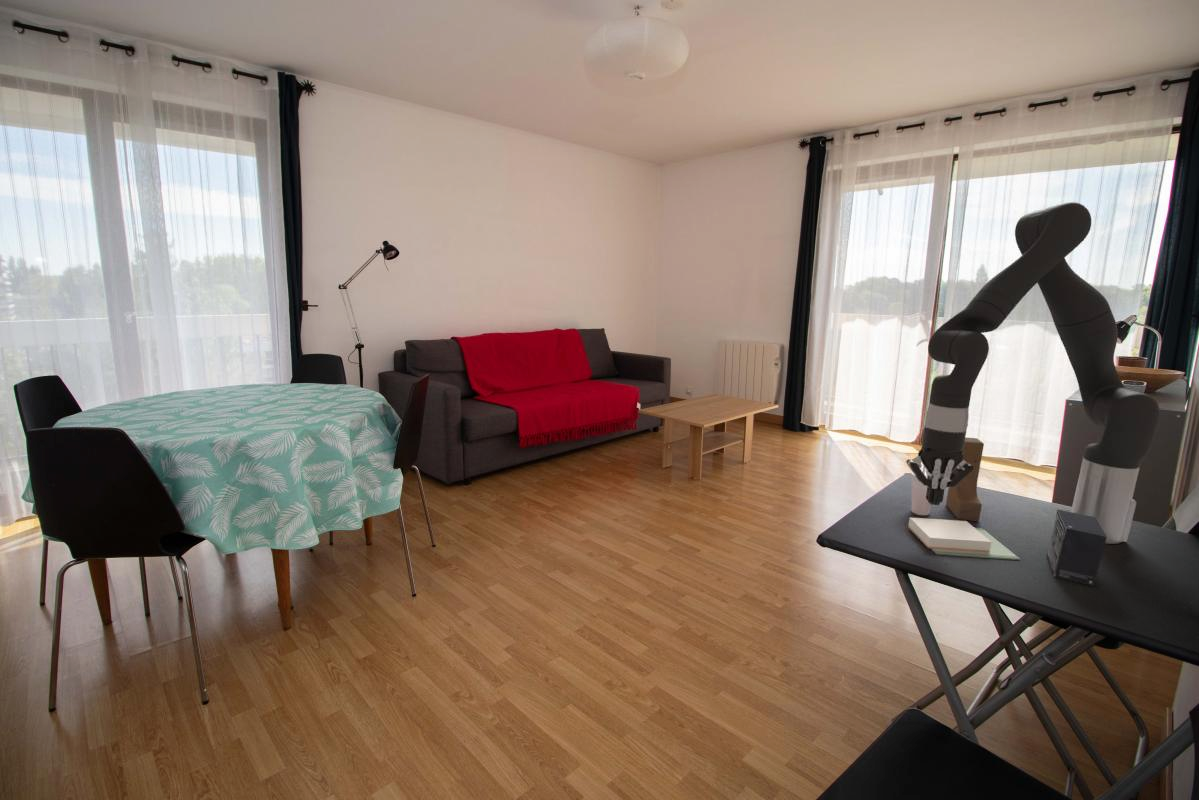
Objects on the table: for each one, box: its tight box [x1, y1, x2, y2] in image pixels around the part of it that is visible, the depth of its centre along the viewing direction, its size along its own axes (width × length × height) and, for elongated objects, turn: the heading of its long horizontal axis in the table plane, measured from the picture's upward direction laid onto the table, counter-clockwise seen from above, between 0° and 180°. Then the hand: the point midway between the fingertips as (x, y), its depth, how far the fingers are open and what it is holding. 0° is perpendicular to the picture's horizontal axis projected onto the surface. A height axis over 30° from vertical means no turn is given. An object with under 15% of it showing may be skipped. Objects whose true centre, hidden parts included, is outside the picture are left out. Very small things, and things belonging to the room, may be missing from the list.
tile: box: [907, 517, 991, 552], centre depth 121 cm, size 2×10×12 cm
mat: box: [907, 523, 1021, 561], centre depth 121 cm, size 16×14×1 cm
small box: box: [1046, 509, 1107, 587], centre depth 108 cm, size 11×6×10 cm, turn 148°
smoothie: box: [909, 464, 933, 516], centre depth 134 cm, size 6×6×14 cm
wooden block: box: [945, 437, 985, 522], centre depth 133 cm, size 9×4×18 cm, turn 166°
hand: (933, 503), depth 120 cm, fingers closed
